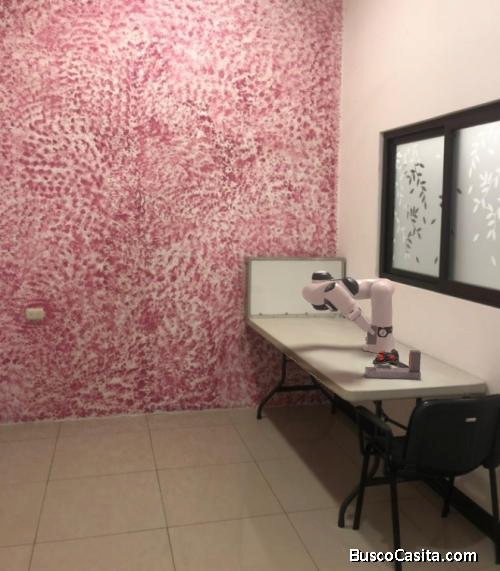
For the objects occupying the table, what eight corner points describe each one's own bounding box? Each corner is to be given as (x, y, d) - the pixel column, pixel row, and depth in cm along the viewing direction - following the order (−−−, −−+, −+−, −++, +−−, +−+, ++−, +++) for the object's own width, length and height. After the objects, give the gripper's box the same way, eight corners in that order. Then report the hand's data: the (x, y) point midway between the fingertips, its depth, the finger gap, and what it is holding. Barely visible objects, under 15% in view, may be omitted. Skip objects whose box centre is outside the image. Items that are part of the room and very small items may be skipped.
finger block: (366, 342, 282) (367, 323, 281) (376, 342, 282) (376, 323, 281) (367, 344, 278) (368, 325, 277) (377, 344, 278) (377, 325, 277)
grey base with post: (364, 373, 282) (365, 347, 280) (416, 374, 280) (418, 349, 279) (366, 377, 274) (367, 351, 273) (420, 379, 272) (421, 353, 271)
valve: (364, 363, 309) (389, 357, 313) (391, 379, 285) (418, 372, 289) (363, 351, 307) (388, 345, 312) (390, 366, 283) (418, 359, 288)
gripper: (346, 312, 290) (366, 332, 290) (349, 319, 270) (370, 341, 270) (356, 303, 289) (375, 323, 289) (359, 310, 269) (380, 332, 269)
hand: (373, 332), depth 279 cm, fingers closed on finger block, 4 cm apart
